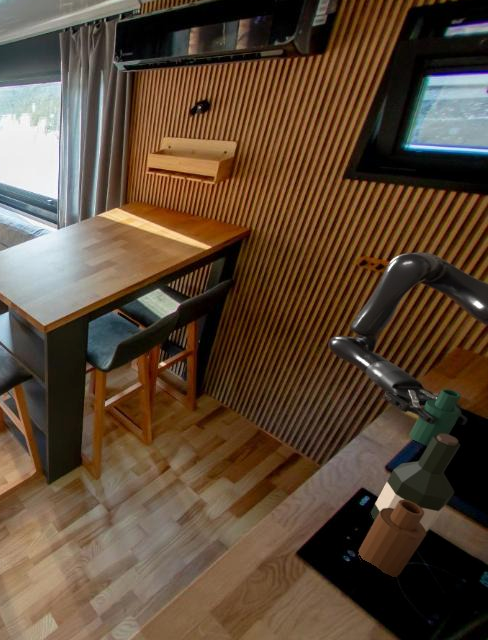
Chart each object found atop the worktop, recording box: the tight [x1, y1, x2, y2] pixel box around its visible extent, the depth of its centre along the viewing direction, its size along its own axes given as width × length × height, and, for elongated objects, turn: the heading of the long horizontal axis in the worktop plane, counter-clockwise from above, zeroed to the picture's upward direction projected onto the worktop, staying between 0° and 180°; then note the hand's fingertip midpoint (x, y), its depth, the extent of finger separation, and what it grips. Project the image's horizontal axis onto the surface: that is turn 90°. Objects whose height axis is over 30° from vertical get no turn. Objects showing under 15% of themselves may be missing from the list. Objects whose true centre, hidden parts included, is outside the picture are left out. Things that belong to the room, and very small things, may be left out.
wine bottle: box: [370, 433, 461, 535], centre depth 79 cm, size 8×8×30 cm
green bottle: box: [409, 388, 462, 446], centre depth 98 cm, size 6×6×18 cm
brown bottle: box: [358, 500, 427, 578], centre depth 76 cm, size 6×6×20 cm
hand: (448, 421), depth 95 cm, fingers closed on green bottle, 5 cm apart
